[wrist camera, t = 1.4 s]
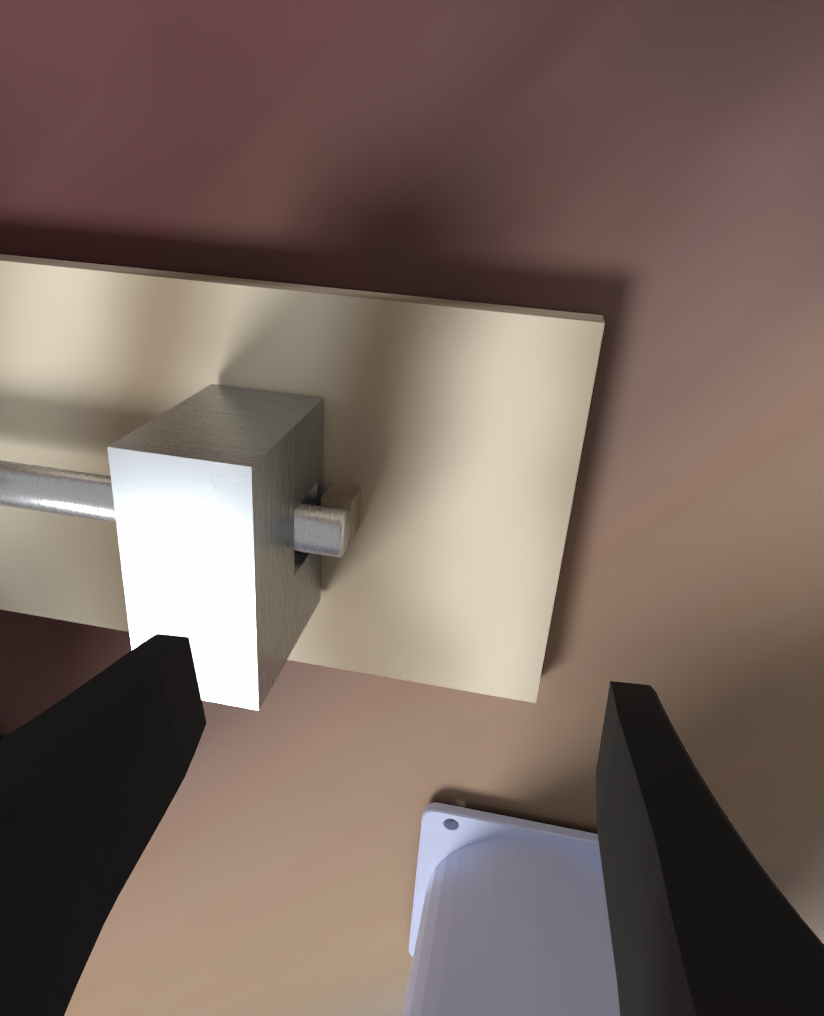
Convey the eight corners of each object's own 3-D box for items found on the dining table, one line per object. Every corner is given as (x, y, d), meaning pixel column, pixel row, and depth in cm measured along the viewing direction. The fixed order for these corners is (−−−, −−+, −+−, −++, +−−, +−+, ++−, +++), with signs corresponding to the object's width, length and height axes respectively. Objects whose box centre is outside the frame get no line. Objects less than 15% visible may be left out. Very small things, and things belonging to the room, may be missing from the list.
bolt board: (602, 315, 17) (622, 378, 12) (536, 681, 22) (529, 845, 17) (-227, 230, 20) (-507, 250, 15) (-128, 567, 25) (-314, 674, 20)
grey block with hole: (324, 398, 18) (250, 466, 14) (320, 599, 21) (258, 710, 16) (211, 383, 19) (106, 446, 14) (221, 583, 21) (136, 687, 17)
